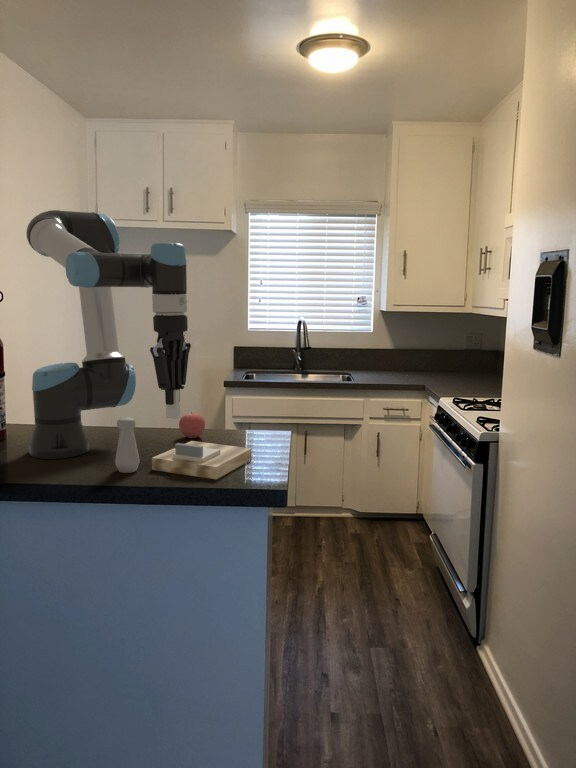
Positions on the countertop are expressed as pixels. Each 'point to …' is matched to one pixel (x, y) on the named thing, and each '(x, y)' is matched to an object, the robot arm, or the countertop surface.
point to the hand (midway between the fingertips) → (173, 417)
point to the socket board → (208, 469)
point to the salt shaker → (126, 446)
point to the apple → (192, 425)
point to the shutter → (194, 452)
